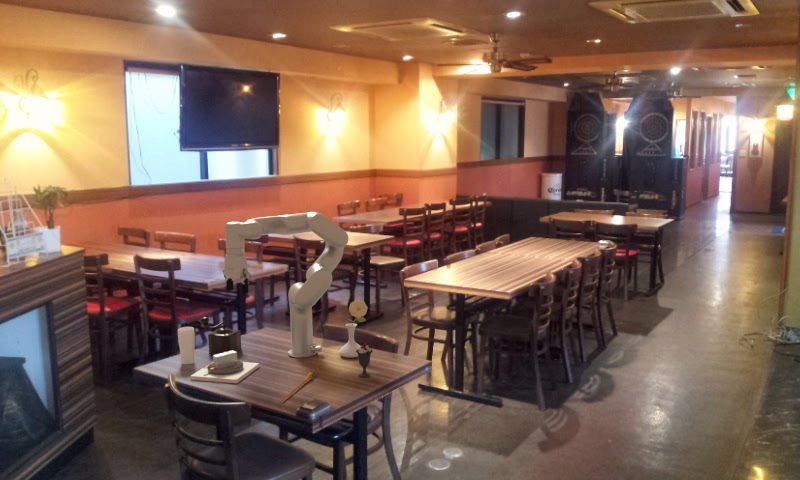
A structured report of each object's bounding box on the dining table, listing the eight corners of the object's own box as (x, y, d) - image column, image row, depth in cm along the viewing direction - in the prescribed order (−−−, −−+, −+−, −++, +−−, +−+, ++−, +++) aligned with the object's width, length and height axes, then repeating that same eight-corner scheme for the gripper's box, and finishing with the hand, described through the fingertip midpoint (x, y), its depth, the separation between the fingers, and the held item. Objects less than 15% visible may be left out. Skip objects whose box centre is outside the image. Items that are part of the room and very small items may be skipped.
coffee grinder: (221, 347, 311) (219, 309, 308) (242, 350, 307) (240, 311, 304) (199, 358, 297) (197, 317, 294) (221, 360, 293) (218, 320, 290)
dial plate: (259, 366, 284) (259, 362, 284) (236, 383, 265) (236, 379, 265) (215, 363, 289) (215, 359, 289) (190, 379, 270) (190, 375, 270)
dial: (231, 360, 287) (230, 346, 286) (250, 368, 277) (249, 353, 276) (201, 368, 277) (200, 354, 276) (219, 376, 267) (218, 361, 266)
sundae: (360, 379, 268) (359, 342, 266) (353, 374, 274) (352, 338, 272) (375, 376, 271) (375, 339, 269) (368, 371, 277) (367, 335, 275)
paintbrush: (279, 406, 245) (278, 399, 244) (317, 370, 278) (317, 364, 277) (282, 407, 244) (282, 399, 244) (320, 371, 277) (320, 364, 277)
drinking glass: (191, 366, 286) (189, 331, 284) (176, 365, 288) (174, 330, 285) (199, 360, 293) (197, 326, 291) (184, 360, 294) (182, 326, 292)
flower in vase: (336, 359, 293) (334, 302, 289) (341, 351, 304) (340, 296, 300) (366, 360, 291) (365, 303, 287) (370, 352, 302) (369, 296, 298)
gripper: (215, 250, 287) (217, 290, 290) (241, 254, 277) (243, 296, 279) (229, 248, 293) (231, 287, 296) (256, 252, 283) (258, 292, 285)
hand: (237, 291), depth 287 cm, fingers open, 9 cm apart
